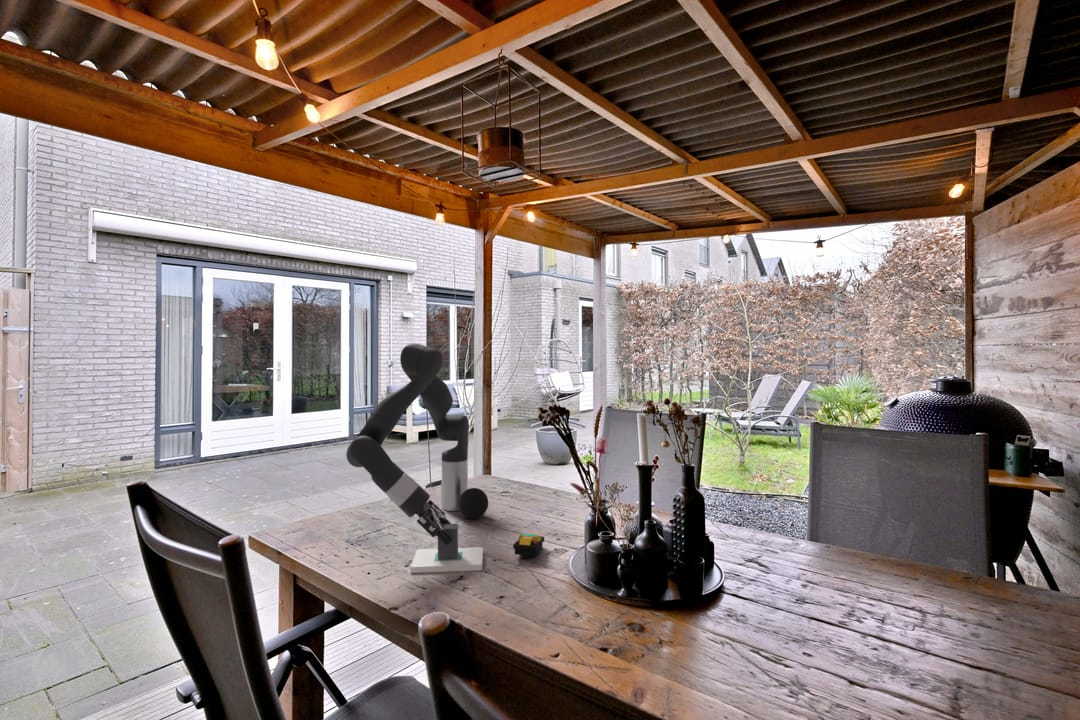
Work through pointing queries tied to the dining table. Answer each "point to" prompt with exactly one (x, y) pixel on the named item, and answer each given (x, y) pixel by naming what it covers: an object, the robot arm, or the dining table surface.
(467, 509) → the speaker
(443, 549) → the block
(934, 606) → the dining table surface
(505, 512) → the dining table surface
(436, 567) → the board
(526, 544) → the black bowl with blocks
